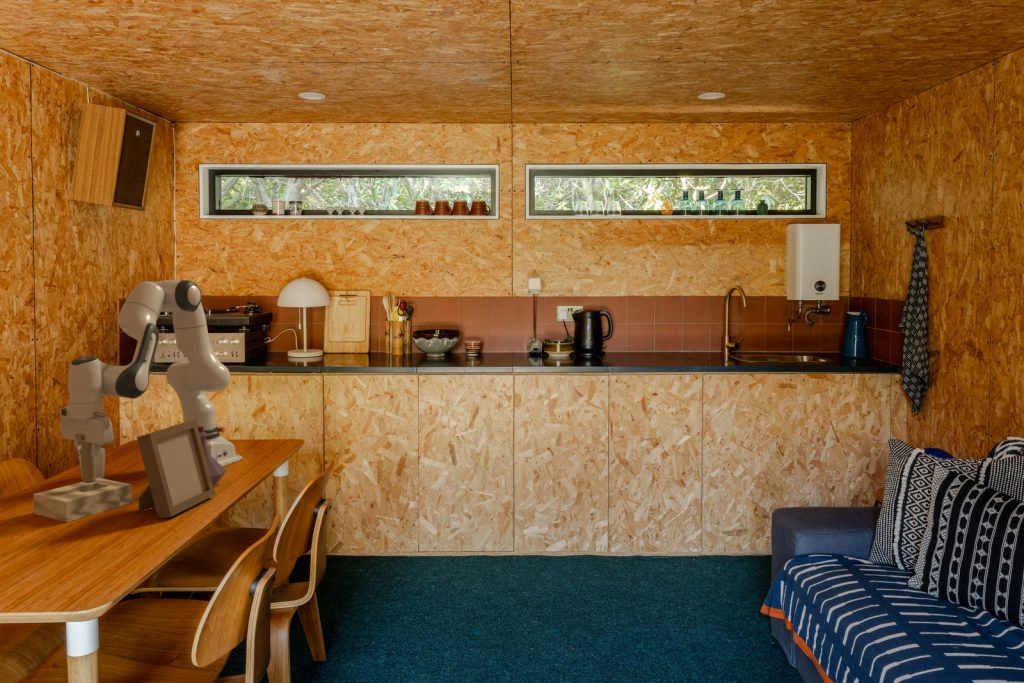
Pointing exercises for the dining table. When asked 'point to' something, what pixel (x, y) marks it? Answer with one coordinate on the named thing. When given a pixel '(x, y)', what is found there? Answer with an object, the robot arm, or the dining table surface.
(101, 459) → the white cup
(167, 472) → the photo frame
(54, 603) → the dining table surface
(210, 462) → the flask
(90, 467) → the handle
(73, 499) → the socket block
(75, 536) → the dining table surface
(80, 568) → the dining table surface
